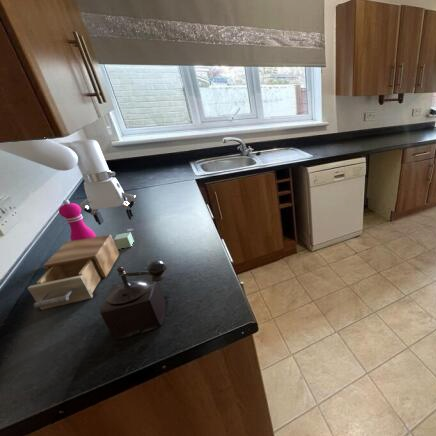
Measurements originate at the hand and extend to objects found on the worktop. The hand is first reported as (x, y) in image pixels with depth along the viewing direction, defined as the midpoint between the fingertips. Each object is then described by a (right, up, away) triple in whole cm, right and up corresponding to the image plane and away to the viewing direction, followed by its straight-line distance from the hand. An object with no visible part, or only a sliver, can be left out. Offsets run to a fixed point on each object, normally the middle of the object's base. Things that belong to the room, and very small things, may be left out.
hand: (116, 220), depth 101 cm
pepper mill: (-15, -11, +5) cm, 19 cm away
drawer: (+5, -22, -22) cm, 31 cm away
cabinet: (0, -17, -11) cm, 20 cm away
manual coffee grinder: (+33, -26, -30) cm, 51 cm away
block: (0, -10, +5) cm, 11 cm away
